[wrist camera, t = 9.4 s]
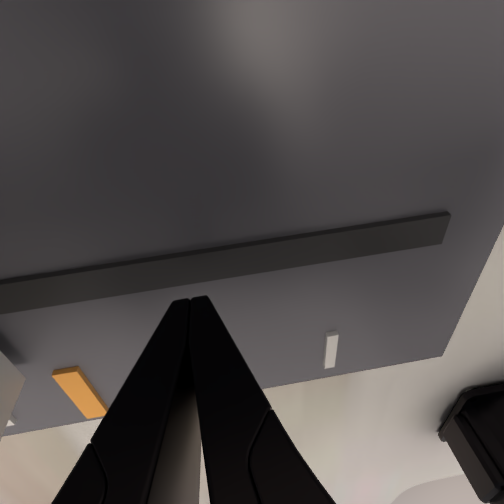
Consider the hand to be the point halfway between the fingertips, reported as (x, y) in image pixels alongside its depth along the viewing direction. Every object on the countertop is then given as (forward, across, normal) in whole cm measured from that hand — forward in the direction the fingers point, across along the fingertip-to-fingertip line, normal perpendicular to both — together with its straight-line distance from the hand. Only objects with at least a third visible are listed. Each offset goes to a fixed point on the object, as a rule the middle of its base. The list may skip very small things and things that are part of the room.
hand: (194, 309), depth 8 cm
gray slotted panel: (+4, +2, 0) cm, 4 cm away
